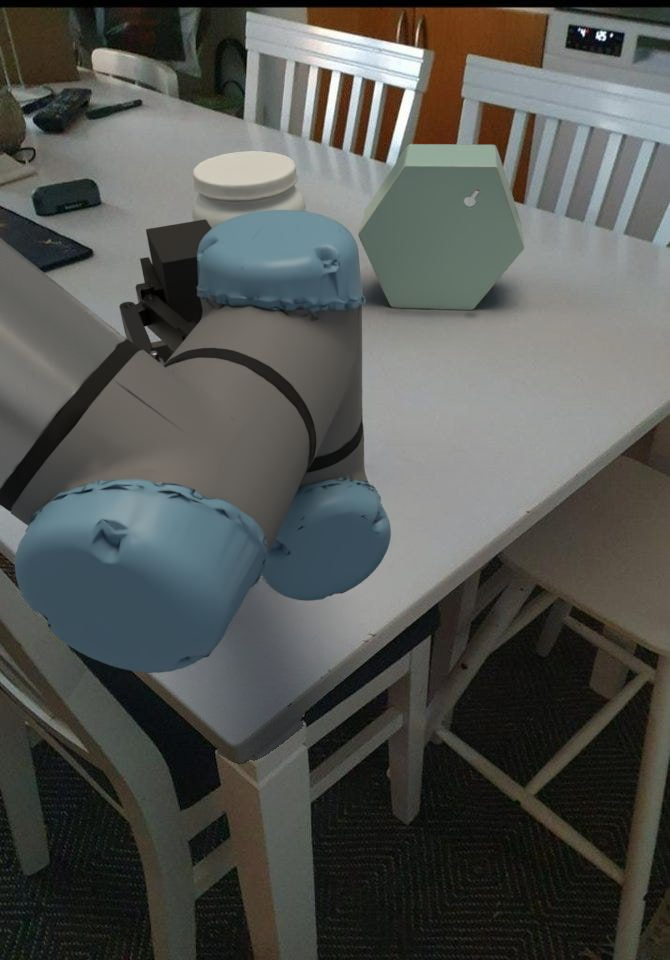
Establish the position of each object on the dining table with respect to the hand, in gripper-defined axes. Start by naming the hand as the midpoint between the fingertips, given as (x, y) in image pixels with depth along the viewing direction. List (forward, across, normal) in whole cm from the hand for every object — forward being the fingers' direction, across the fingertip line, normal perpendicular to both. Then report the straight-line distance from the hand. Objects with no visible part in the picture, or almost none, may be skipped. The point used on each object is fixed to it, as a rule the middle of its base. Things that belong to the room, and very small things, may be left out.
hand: (180, 267), depth 70 cm
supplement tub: (+21, +12, -18) cm, 30 cm away
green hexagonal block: (+18, +34, -18) cm, 43 cm away
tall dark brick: (-5, 0, -6) cm, 8 cm away
